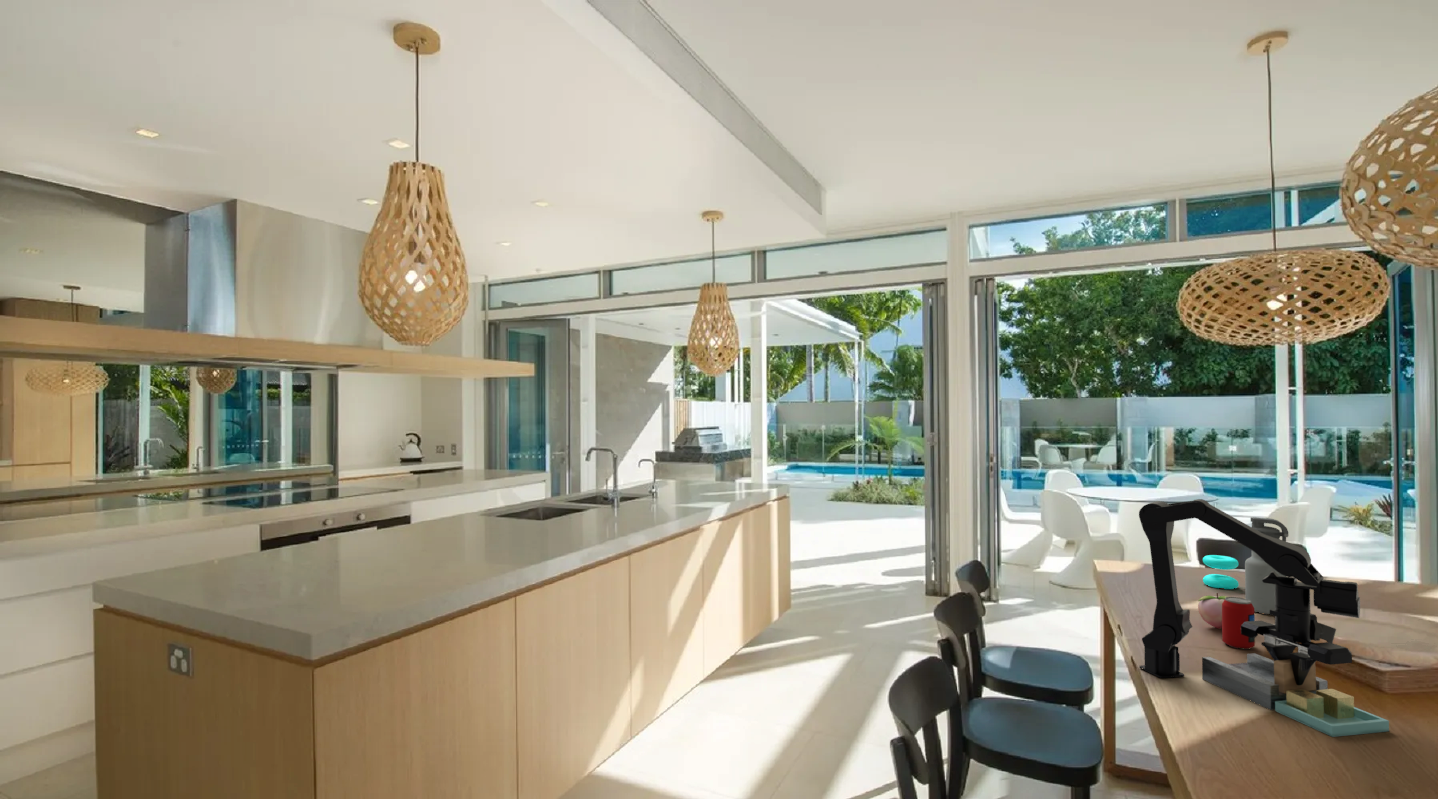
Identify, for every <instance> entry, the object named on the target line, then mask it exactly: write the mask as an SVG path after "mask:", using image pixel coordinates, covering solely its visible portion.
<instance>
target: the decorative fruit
mask: <svg viewBox="0 0 1438 799" xmlns="http://www.w3.org/2000/svg"><path fill="white" fill-rule="evenodd" d="M1226 597H1228V596H1226V595H1221V596H1220V595H1219V593H1218V592H1216V596H1215V595H1204V596H1201V598H1199V599H1198V604H1197V609H1198V612H1199V613H1198V614H1199V616H1200V617H1201V619H1202V620H1203V621H1204V622H1205V623H1206V624H1208V625H1210V626H1211V627H1214V628H1215V629H1218V630H1219V629H1222V603H1223V601H1224V600H1225V598H1226Z"/></svg>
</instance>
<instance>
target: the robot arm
mask: <svg viewBox="0 0 1438 799" xmlns="http://www.w3.org/2000/svg"><path fill="white" fill-rule="evenodd" d="M1138 517H1139V521H1140V524H1141V527H1142V531H1143V533H1144V534H1145V536H1146V538H1147V541H1148V542H1149V548H1150V549H1149V550H1150V557H1151V564H1152V565H1151V566H1152V572H1153V582H1154V583H1153V584H1154V590H1155V598H1156V599H1155V600H1156V604H1155V609H1154V615H1153V621H1152V622H1153V623H1152V630H1151V631H1149V632H1147V634H1146V635H1144V636H1143V637H1141V641H1142V644H1143V646H1144V648H1143V649H1144V664H1143V665H1139V666H1138V667H1139V668H1140V669H1141V668H1143V669H1144V670H1143V669H1142V670H1143V671H1145V672H1147V673H1149V674H1151V675H1153V676H1155V677H1157V678H1160V679H1166V678H1179V677H1185V673H1183V672H1181V670H1180V668H1181V667H1180V665H1181V664H1180V658H1181V657H1180V655H1181V654H1180V652H1179V647H1178V646H1177V645H1178V644H1179V643H1180V642H1181V641H1183V640H1184V639H1185V638H1186V636H1188V635H1189V633H1190V629H1191V628H1193V624H1192V623H1191V618H1190V616H1191V615H1190V614H1191V610H1190V609H1183V607H1182V605H1181V604H1180V600H1179V594H1178V586H1177V579H1176V572H1175V562H1174V556H1173V555H1174V554H1173V547H1172V537H1173V533H1174V528H1175V522H1177V521H1178V522H1180V521H1184V520H1191V519H1197V520H1199V521H1200V522H1202V523H1204V524H1206V525H1208V526H1209V527H1211V528H1213V529H1215V530H1216V531H1218V532H1219V533H1222V534H1223V535H1225V536H1227V537H1228V538H1230V539H1231V540H1234V541H1235V542H1237V543H1239V544H1241V545H1243V546H1244V547H1246V548H1248V549H1249V550H1251V552H1252V551H1254V552H1255V553H1256V554H1257V555H1258V556H1259V557H1260V558H1261V559H1262V560H1263V561H1264V562H1266V563H1267V564H1268V565H1270V566H1271V567H1272V568H1273V569H1275V570H1276V571H1277V572H1279V573H1280V574H1282V575H1284V576H1280V575H1278V574H1277V573H1276V572H1275V571H1272V572H1271V573H1270V575H1268V576H1266V577H1265V578H1264V579H1263V580H1262V582H1263V583H1269V584H1274V594H1275V609H1272V610H1270V616H1273V617H1274V624H1273V623H1270V622H1267V621H1264V620H1255V621H1247V622H1244V623H1243V624H1242V625H1241V634H1242V635H1244V636H1247V637H1250V638H1255V639H1256V638H1257V637H1259V636H1258V635H1260V636H1263V637H1264V638H1263V642H1261V643H1260V644H1261V646H1263V647H1264V648H1265V649H1266V651H1267V652H1268V653H1269V655H1270V656H1271V658H1272V660H1273V661H1276V660H1286V659H1291V664H1292V669H1293V674H1294V679H1295V682H1296V684H1297V685H1302V684H1303V682H1304V680H1305V678H1306V676H1307V674H1308V672H1309V670H1310V668H1311V667H1312V665H1313V664H1314V662H1315V663H1316V662H1319V663H1322V664H1324V665H1325V664H1326V665H1332V666H1333V665H1341V664H1343V665H1344V664H1352V663H1353V654H1352V652H1351V650H1350V649H1349V648H1348V647H1346V646H1343V645H1339V644H1337V643H1334V639H1335V636H1336V635H1335V634H1336V632H1337V628H1335V627H1332V626H1329V625H1327V624H1325V623H1321V622H1319V621H1318V617H1317V615H1316V614H1315V613H1312V612H1311V590H1312V591H1313V606H1314V607H1317V609H1318V610H1320V612H1321V613H1325V614H1329V615H1330V614H1332V615H1337V616H1344V617H1349V618H1350V617H1351V618H1356V619H1360V617H1361V616H1360V615H1361V597H1359V588H1358V586H1359V585H1358V583H1357V582H1354V581H1339V580H1334V579H1333V580H1332V579H1326V578H1325V579H1324V576H1323V575H1322V573H1321V572H1319V571H1318V570H1317V568H1316V567H1315V566H1314V565H1313V563H1312V558H1311V556H1310V553H1309V552H1308V551H1307V550H1306V549H1304V548H1303V547H1300V546H1298V545H1297V544H1293V543H1290V542H1288V541H1287V540H1286V541H1283V540H1282V539H1280V538H1279V539H1277V538H1273V537H1270V536H1267V535H1265V534H1263V533H1261V532H1259V531H1257V530H1255V529H1254V528H1252V526H1250V525H1248V524H1247V523H1244V522H1243V521H1241V520H1239V519H1237V518H1236V517H1233V516H1232V515H1230V514H1228V513H1226V512H1225V511H1223V510H1221V509H1219V508H1217V507H1215V506H1214V505H1212V504H1210V503H1209V502H1208V501H1207V500H1205V499H1202V498H1201V499H1200V498H1198V499H1197V498H1196V499H1194V500H1189V501H1180V502H1174V503H1168V502H1165V501H1160V500H1156V501H1152V502H1149V503H1147V504H1145V505H1143V506H1142V507H1141V508H1139V511H1138ZM1321 640H1323V641H1324V642H1313V641H1321ZM1325 641H1326V642H1325ZM1296 648H1297V651H1296V652H1294V651H1295V649H1296Z"/></svg>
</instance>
